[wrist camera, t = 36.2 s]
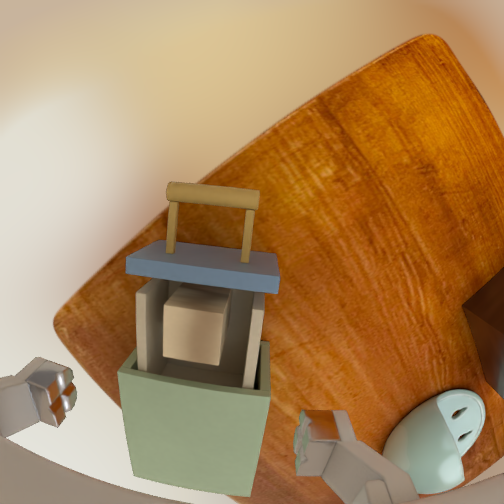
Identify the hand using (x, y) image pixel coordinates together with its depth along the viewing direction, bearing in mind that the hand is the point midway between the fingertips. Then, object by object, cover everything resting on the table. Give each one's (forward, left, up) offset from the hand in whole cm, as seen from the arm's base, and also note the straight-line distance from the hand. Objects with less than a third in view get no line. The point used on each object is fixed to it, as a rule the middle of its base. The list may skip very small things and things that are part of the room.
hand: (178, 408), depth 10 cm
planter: (+35, -11, -20) cm, 42 cm away
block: (-1, -3, -18) cm, 18 cm away
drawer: (-1, -2, -19) cm, 19 cm away
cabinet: (+3, -14, -20) cm, 24 cm away
